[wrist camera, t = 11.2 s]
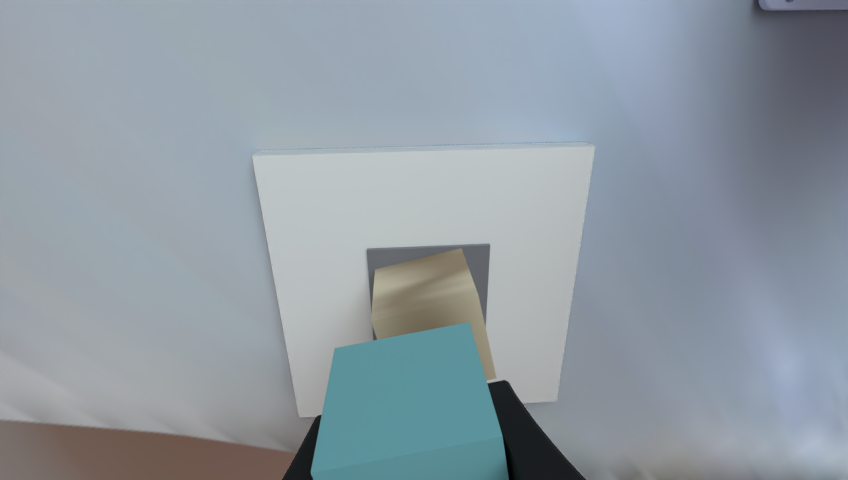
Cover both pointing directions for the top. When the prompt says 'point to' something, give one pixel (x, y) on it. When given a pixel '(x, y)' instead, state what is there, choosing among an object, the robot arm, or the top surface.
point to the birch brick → (429, 300)
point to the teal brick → (410, 411)
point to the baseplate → (426, 246)
